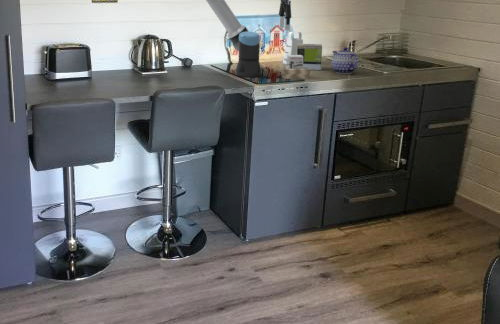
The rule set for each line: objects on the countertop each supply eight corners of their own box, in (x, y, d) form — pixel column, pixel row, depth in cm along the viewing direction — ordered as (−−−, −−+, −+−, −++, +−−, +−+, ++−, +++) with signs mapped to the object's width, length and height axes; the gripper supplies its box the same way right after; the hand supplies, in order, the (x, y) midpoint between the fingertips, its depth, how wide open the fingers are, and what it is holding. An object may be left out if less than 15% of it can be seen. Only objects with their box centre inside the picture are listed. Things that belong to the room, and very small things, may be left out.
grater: (282, 62, 371) (284, 31, 364) (297, 62, 375) (298, 31, 368) (289, 65, 362) (291, 33, 355) (304, 64, 366) (306, 32, 359)
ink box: (288, 77, 323) (289, 56, 320) (285, 75, 328) (286, 54, 324) (302, 77, 325) (303, 56, 322) (300, 75, 330) (301, 54, 326)
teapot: (366, 75, 335) (369, 49, 330) (344, 77, 329) (346, 50, 324) (343, 68, 356) (345, 44, 352) (321, 69, 350) (323, 44, 346)
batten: (283, 78, 318) (284, 69, 316) (282, 77, 321) (282, 68, 319) (309, 78, 321) (310, 69, 320) (307, 77, 324) (308, 68, 323)
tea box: (320, 67, 357) (322, 43, 352) (320, 70, 347) (322, 45, 342) (296, 66, 358) (297, 42, 353) (296, 69, 349) (297, 44, 344)
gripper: (298, -8, 319) (296, 31, 325) (287, -10, 342) (285, 26, 349) (285, -8, 317) (283, 31, 324) (274, -10, 340) (273, 26, 347)
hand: (284, 29), depth 336 cm, fingers open, 13 cm apart
